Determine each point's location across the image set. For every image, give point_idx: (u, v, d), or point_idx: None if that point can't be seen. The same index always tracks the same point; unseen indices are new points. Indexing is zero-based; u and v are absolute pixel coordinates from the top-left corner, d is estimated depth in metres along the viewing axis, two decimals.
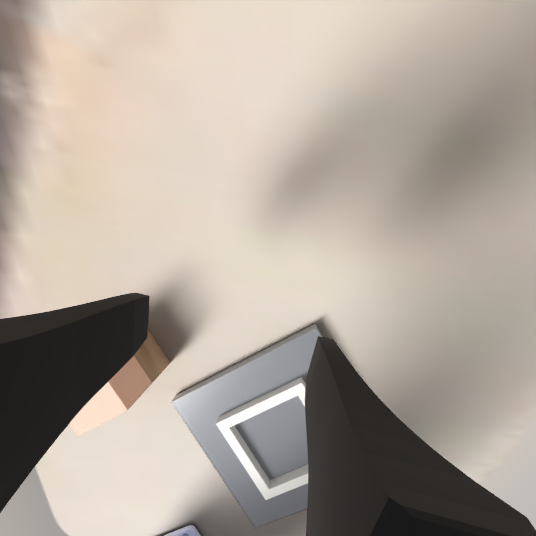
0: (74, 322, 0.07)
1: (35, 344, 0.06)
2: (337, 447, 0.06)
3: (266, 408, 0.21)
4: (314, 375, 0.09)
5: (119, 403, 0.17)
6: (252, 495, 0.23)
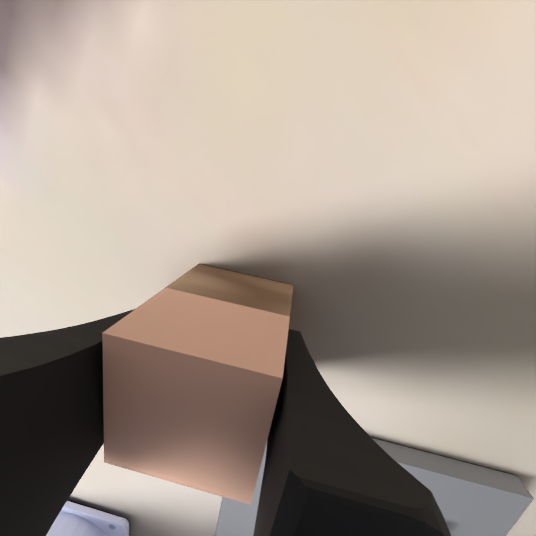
0: None
1: (86, 357, 0.06)
2: (278, 431, 0.06)
3: None
4: None
5: (245, 487, 0.07)
6: None
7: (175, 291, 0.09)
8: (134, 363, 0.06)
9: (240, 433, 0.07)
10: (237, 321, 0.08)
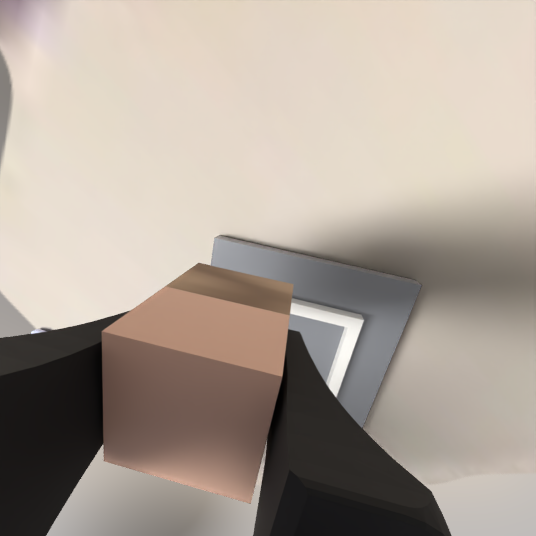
0: None
1: (86, 357, 0.06)
2: (279, 431, 0.06)
3: (308, 316, 0.18)
4: None
5: (244, 485, 0.07)
6: None
7: (174, 289, 0.09)
8: (133, 361, 0.06)
9: (240, 432, 0.07)
10: (237, 320, 0.08)
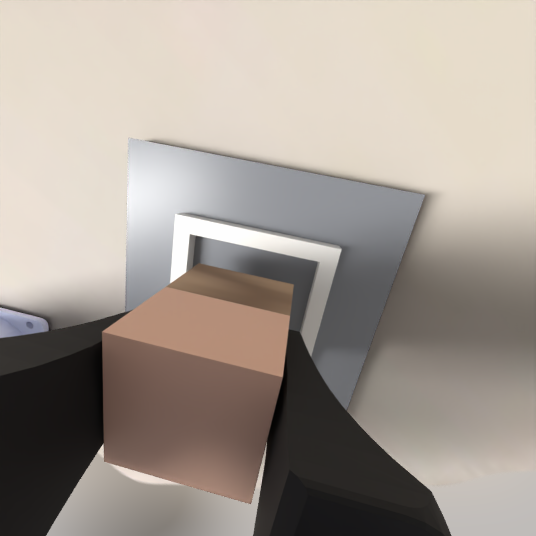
0: None
1: (86, 357, 0.06)
2: (278, 431, 0.06)
3: (262, 247, 0.12)
4: None
5: (245, 486, 0.07)
6: None
7: (175, 290, 0.09)
8: (134, 362, 0.06)
9: (240, 433, 0.07)
10: (237, 320, 0.08)
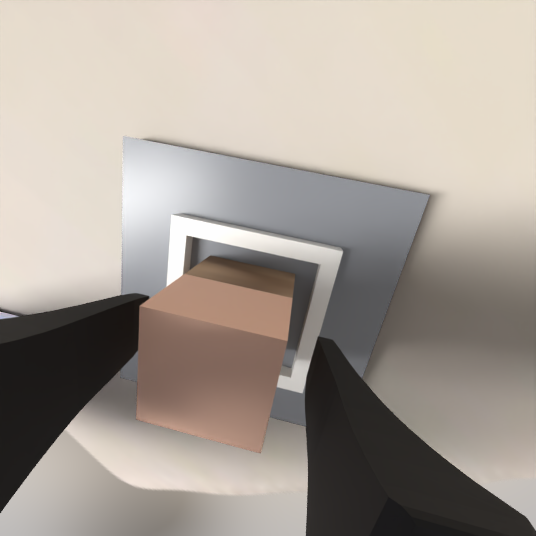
0: (74, 322, 0.07)
1: (35, 344, 0.06)
2: (337, 447, 0.06)
3: (262, 248, 0.12)
4: (314, 375, 0.09)
5: (255, 437, 0.09)
6: None
7: (192, 277, 0.10)
8: (165, 331, 0.08)
9: (252, 390, 0.08)
10: (248, 300, 0.09)
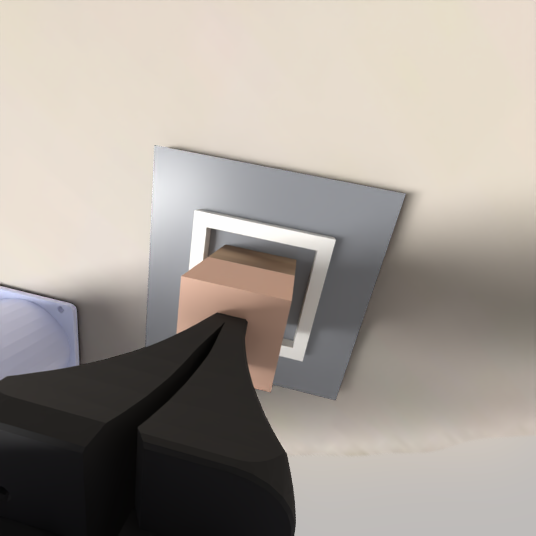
0: (193, 352, 0.07)
1: (174, 380, 0.06)
2: None
3: (269, 238, 0.15)
4: None
5: (267, 379, 0.11)
6: (168, 320, 0.18)
7: (214, 259, 0.13)
8: (199, 295, 0.10)
9: (265, 340, 0.11)
10: (260, 275, 0.12)
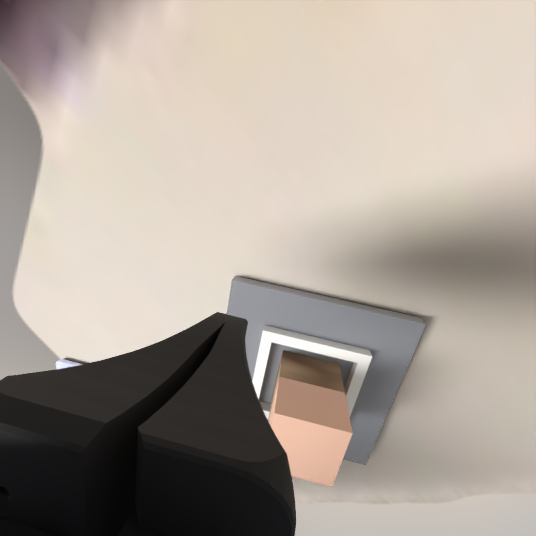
0: (193, 352, 0.07)
1: (174, 380, 0.06)
2: None
3: (320, 352, 0.19)
4: None
5: (330, 478, 0.16)
6: None
7: (284, 378, 0.18)
8: (286, 425, 0.15)
9: (331, 455, 0.15)
10: (322, 399, 0.16)
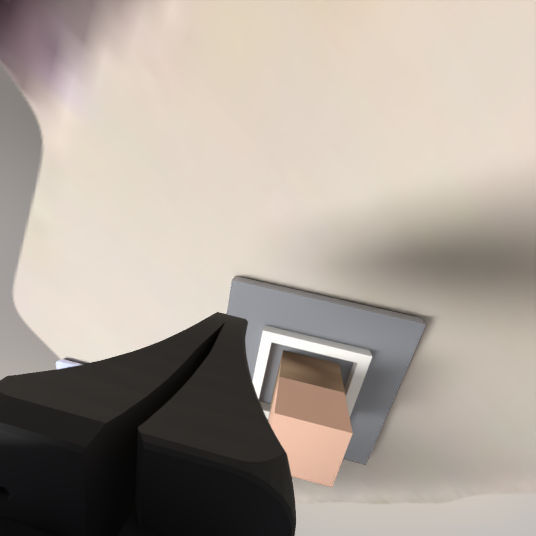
0: (193, 352, 0.07)
1: (174, 380, 0.06)
2: None
3: (320, 352, 0.19)
4: None
5: (330, 479, 0.16)
6: None
7: (284, 378, 0.18)
8: (286, 425, 0.15)
9: (331, 455, 0.15)
10: (322, 399, 0.16)
